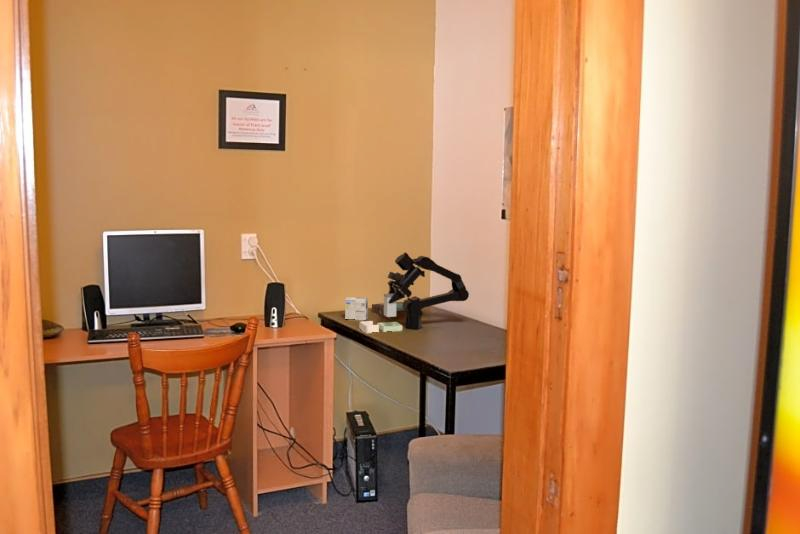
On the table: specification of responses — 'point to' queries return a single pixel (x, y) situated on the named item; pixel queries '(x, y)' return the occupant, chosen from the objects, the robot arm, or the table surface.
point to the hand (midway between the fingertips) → (387, 301)
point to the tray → (390, 326)
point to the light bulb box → (356, 308)
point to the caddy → (389, 306)
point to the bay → (368, 326)
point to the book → (399, 310)
